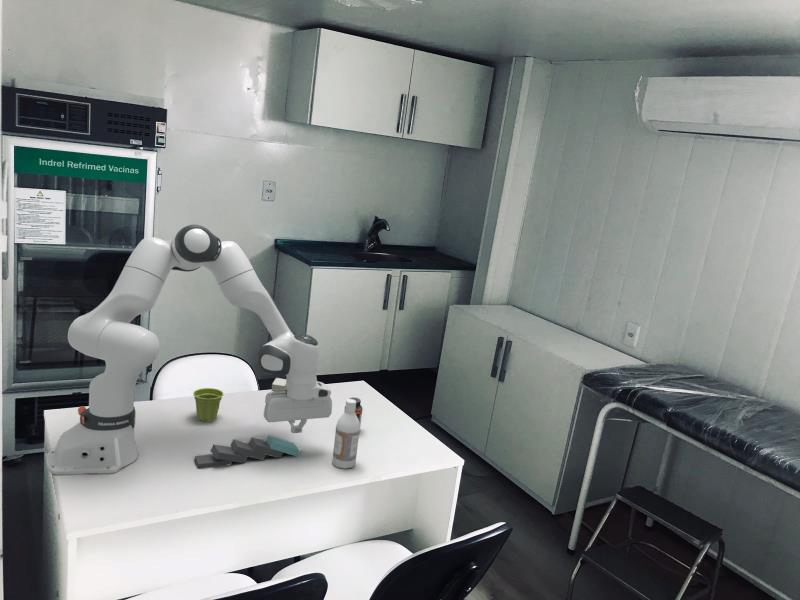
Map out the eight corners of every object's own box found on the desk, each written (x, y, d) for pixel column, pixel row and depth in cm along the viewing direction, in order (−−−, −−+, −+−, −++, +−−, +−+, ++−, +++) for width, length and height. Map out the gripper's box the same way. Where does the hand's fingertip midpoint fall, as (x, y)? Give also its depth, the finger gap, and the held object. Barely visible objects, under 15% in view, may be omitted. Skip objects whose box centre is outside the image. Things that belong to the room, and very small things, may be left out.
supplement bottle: (341, 434, 206) (345, 401, 204) (342, 426, 212) (346, 395, 210) (359, 436, 207) (363, 403, 204) (359, 428, 212) (363, 397, 210)
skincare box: (272, 410, 217) (275, 377, 215) (285, 412, 217) (288, 379, 214) (268, 417, 211) (271, 383, 208) (281, 419, 211) (284, 385, 208)
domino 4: (280, 458, 185) (253, 450, 180) (275, 450, 189) (248, 443, 185) (283, 452, 185) (256, 444, 180) (278, 444, 189) (251, 437, 184)
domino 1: (230, 466, 178) (198, 470, 173) (226, 458, 182) (194, 462, 178) (231, 460, 178) (198, 464, 173) (226, 452, 182) (194, 455, 177)
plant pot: (188, 414, 206) (189, 389, 204) (216, 410, 211) (218, 386, 209) (196, 425, 198) (197, 400, 196) (225, 422, 204) (227, 397, 202)
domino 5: (294, 442, 192) (268, 435, 187) (299, 450, 188) (273, 442, 183) (291, 448, 192) (265, 441, 187) (296, 456, 188) (270, 448, 183)
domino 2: (244, 463, 180) (216, 458, 174) (238, 454, 183) (210, 450, 178) (247, 456, 180) (219, 452, 174) (241, 448, 183) (213, 444, 178)
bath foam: (327, 460, 188) (334, 397, 183) (347, 456, 192) (354, 395, 187) (339, 471, 182) (347, 407, 178) (359, 466, 187) (367, 403, 182)
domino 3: (262, 460, 183) (235, 453, 178) (257, 452, 187) (230, 445, 182) (265, 454, 183) (238, 446, 178) (260, 446, 187) (233, 439, 182)
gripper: (269, 395, 178) (265, 440, 181) (336, 391, 187) (331, 433, 190) (263, 387, 183) (259, 430, 186) (328, 383, 193) (323, 424, 196)
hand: (296, 432), depth 188 cm, fingers closed
